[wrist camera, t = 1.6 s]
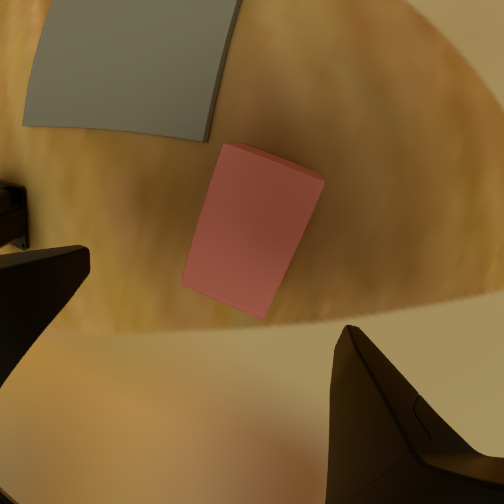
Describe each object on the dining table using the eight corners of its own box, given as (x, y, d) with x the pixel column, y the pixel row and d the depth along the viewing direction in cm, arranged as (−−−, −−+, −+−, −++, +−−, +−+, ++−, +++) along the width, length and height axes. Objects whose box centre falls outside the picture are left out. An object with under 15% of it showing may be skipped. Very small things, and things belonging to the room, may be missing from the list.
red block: (203, 257, 20) (180, 284, 16) (242, 142, 16) (223, 142, 13) (272, 286, 19) (263, 319, 16) (321, 173, 16) (325, 182, 13)
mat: (28, 125, 18) (22, 126, 17) (63, -11, 13) (58, -13, 12) (207, 141, 17) (202, 141, 16) (255, -43, 11) (252, -49, 10)
